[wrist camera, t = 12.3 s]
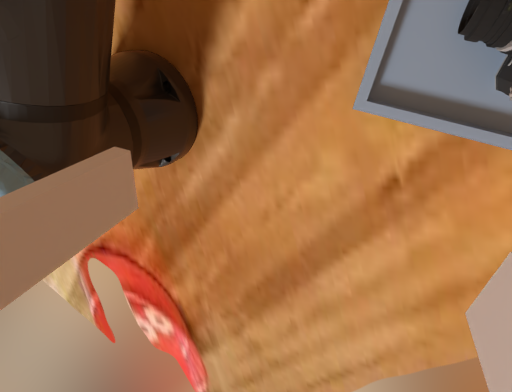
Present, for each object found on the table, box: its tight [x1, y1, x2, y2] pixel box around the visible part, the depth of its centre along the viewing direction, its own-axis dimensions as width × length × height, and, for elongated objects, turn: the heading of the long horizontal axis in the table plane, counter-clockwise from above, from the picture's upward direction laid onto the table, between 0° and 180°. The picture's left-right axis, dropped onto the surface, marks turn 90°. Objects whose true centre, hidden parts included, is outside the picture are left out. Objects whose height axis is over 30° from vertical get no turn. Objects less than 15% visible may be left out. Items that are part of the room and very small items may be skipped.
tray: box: [353, 0, 512, 150], centre depth 22 cm, size 18×18×2 cm
